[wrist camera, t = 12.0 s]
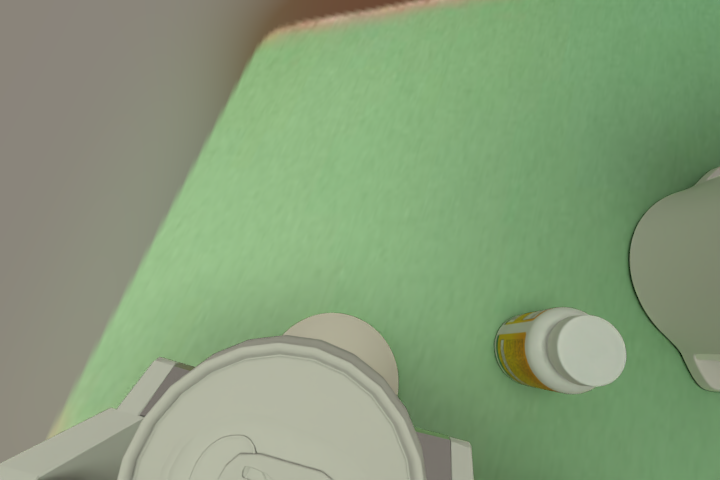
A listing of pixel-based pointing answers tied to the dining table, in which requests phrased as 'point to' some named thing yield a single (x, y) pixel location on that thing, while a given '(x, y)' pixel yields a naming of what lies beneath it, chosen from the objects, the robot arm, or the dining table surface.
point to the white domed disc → (351, 341)
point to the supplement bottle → (560, 350)
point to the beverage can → (277, 419)
